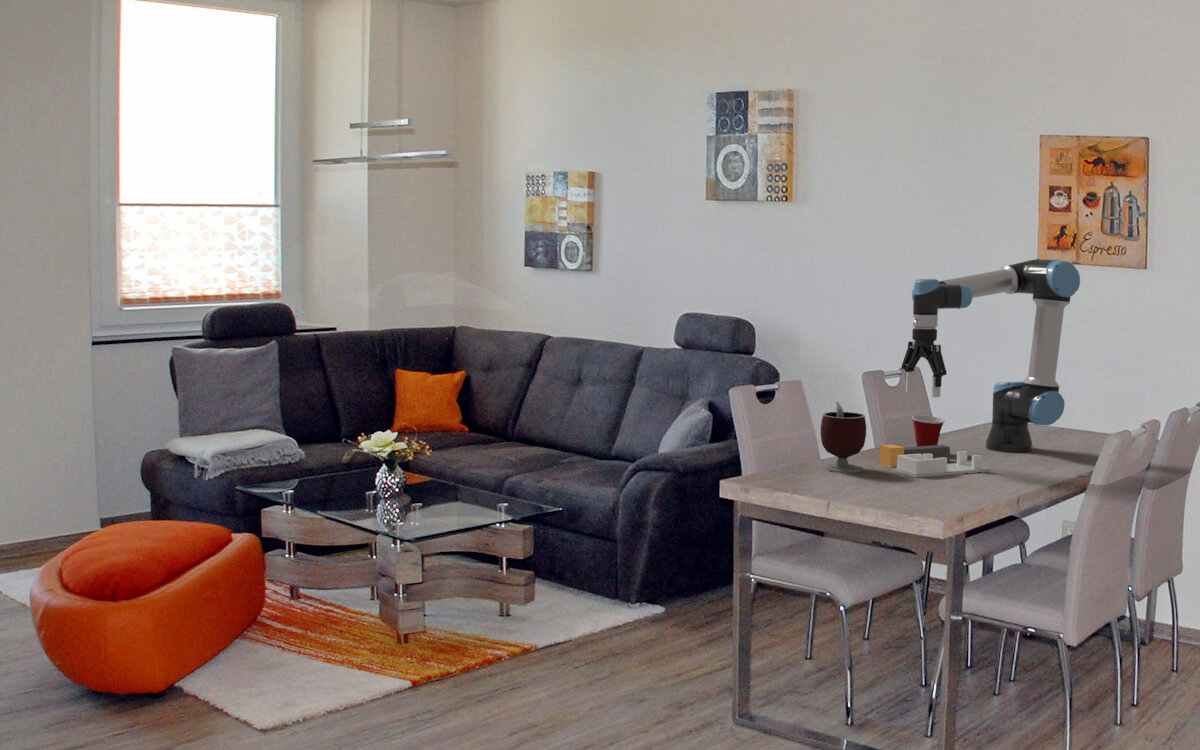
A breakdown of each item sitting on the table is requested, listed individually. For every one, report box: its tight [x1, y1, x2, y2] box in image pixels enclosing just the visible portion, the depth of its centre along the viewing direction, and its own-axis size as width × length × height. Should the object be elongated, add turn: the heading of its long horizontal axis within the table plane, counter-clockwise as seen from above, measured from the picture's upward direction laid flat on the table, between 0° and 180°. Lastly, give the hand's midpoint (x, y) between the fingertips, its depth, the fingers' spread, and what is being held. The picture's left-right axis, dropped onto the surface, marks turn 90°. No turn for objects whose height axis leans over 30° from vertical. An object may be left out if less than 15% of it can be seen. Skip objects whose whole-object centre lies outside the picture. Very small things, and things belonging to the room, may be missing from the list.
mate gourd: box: [820, 401, 867, 474], centre depth 390 cm, size 16×14×20 cm
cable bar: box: [879, 444, 951, 468], centre depth 401 cm, size 23×6×6 cm, turn 111°
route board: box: [894, 450, 991, 478], centre depth 388 cm, size 27×11×5 cm, turn 111°
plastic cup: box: [911, 415, 946, 447], centre depth 419 cm, size 11×11×12 cm
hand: (922, 394), depth 399 cm, fingers open, 13 cm apart
